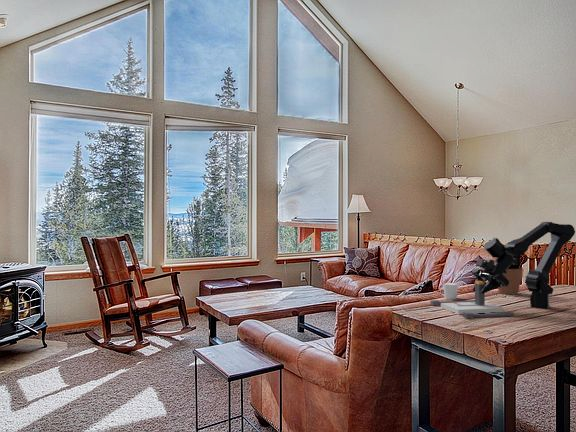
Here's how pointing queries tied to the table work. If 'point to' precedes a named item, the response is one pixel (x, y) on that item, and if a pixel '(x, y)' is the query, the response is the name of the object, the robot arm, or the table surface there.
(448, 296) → the white cup
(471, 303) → the breaker panel
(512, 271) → the potted plant
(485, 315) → the pair of grey rods
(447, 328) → the table surface
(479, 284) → the breaker lever
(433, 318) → the table surface
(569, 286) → the table surface
